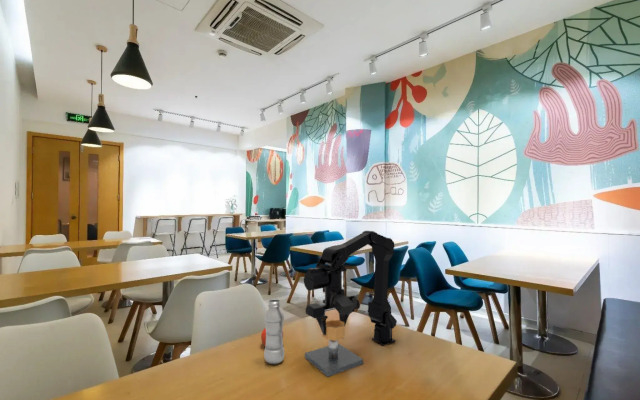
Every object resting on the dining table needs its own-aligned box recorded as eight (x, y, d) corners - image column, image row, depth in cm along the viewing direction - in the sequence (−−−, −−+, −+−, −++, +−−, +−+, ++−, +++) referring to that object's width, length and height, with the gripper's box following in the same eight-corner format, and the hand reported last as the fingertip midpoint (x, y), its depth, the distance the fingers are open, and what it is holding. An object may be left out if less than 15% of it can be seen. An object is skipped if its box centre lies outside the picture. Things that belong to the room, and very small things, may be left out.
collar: (336, 329, 104) (336, 318, 104) (348, 336, 98) (348, 324, 98) (319, 334, 100) (319, 322, 100) (331, 342, 94) (330, 329, 94)
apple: (286, 347, 109) (286, 325, 109) (266, 353, 104) (266, 330, 104) (277, 339, 115) (277, 318, 115) (257, 344, 111) (257, 323, 111)
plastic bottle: (280, 367, 94) (280, 304, 95) (260, 365, 96) (261, 303, 96) (286, 357, 101) (287, 298, 101) (268, 356, 102) (268, 297, 103)
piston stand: (338, 347, 108) (337, 325, 109) (363, 364, 97) (363, 339, 97) (304, 357, 101) (304, 333, 101) (327, 376, 89) (327, 350, 89)
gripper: (323, 295, 88) (323, 349, 87) (370, 286, 98) (370, 334, 97) (304, 287, 97) (304, 335, 97) (349, 280, 107) (349, 323, 107)
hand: (333, 332), depth 99 cm, fingers closed on collar, 7 cm apart
